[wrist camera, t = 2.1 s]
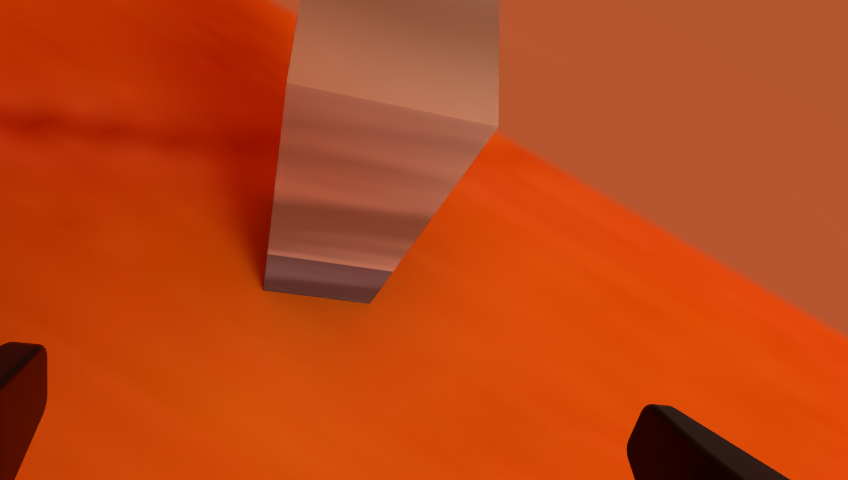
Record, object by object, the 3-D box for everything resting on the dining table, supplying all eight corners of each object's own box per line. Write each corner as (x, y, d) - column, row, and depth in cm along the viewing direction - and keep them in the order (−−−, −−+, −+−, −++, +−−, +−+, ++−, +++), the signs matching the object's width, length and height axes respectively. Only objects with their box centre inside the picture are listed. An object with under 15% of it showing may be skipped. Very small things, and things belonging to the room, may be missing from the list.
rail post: (369, 303, 23) (498, 126, 11) (263, 290, 22) (286, 82, 11) (377, 209, 25) (499, -31, 13) (278, 193, 24) (313, -81, 12)
